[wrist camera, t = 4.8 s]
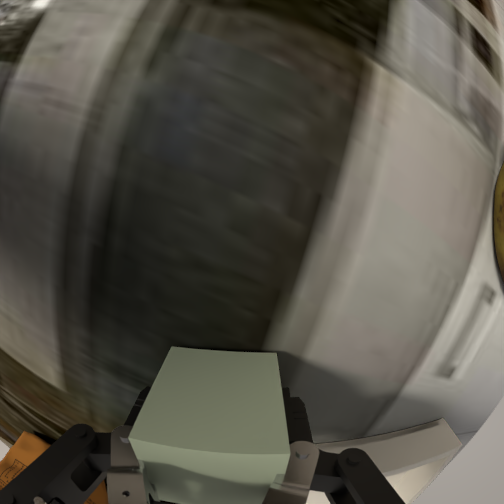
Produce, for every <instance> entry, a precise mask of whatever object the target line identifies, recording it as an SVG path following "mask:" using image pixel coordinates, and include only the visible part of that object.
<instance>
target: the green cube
mask: <svg viewBox="0 0 504 504" xmlns="http://www.w3.org/2000/svg"><path fill="white" fill-rule="evenodd" d="M128 438H129V441H130V443H131V445H132V448H133V450H134V452H135V455H136V457H137V459H140V460H143V461H144V463H145V465H146V470H147V475H148V479H149V482H150V484H154V485H155V487H156V489H157V494H158V498H159V500H163V501H168V502H173V503H179V504H262V502H263V500H264V498H265V496H266V494H267V492H268V489H269V487H270V485H271V483H273V481H274V479H275V477H276V474H285V472H286V469H287V465H288V461H289V458H290V446H289V439H288V431H287V424H286V416H285V409H284V402H283V395H282V387H281V380H280V373H279V366H278V359H277V353H255V352H232V351H216V350H203V349H191V348H181V347H171V349H170V351H169V353H168V355H167V357H166V359H165V361H164V363H163V365H162V367H161V369H160V371H159V373H158V375H157V377H156V379H155V381H154V383H153V385H152V388H151V390H150V392H149V394H148V396H147V398H146V400H145V402H144V404H143V407H142V409H141V411H140V413H139V415H138V417H137V419H136V422H135V424H134V426H133V428H132V430H131V432H130V435H129V437H128Z"/></svg>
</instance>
